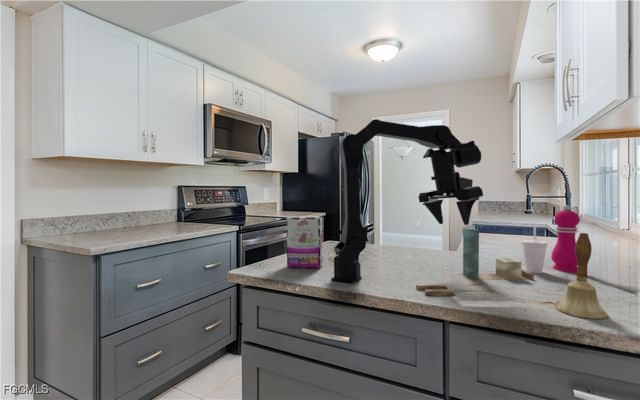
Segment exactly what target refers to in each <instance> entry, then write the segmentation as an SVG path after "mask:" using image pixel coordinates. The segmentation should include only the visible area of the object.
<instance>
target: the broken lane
mask: <svg viewBox="0 0 640 400" xmlns="http://www.w3.org/2000/svg"><path fill="white" fill-rule="evenodd" d="M462 286H464V287H471V286H487V284H486V283H484V282H483V283H482V282H481V283H469V284H468V283H467V284H465V283H463V284H462ZM448 287H450V284H449V283H448V284H447V283H446V284H441V283H440V284H437V283H433V284H432V283H431V284H430V283H427V284H426V283H424V284H422V283H421V284H419V283H418V284H415V289H416V290H417V291H418V290H420V291H422V290H423V291H424V295H425V296H454V297H455V296H456V294H455V293H454V292H458V293H459V292H465V293H466V292H468V293H469V292H473V293H474V292H477V293H478V292H479V293H481V292H482V293H483V292H485V293H486V292H488V293H489V292H490V293H493V292H494V293H495V292H496V290H494V289H449V288H448Z"/></svg>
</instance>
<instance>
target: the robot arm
mask: <svg viewBox="0 0 640 400" xmlns="http://www.w3.org/2000/svg"><path fill="white" fill-rule="evenodd" d="M374 137H383V138H391V139H397V140H401V141H402V140H403V141H411V142H414V143H417V144H418V145H421V146H423V147H426V148H428V149H427V150H426V152H425V154H424V155H423V156H422V159H427V158H430V161H431V167H432V172H433V175H432V176H430V179H431V181H434V184H435V188H436V190H435V189H433V190H428V191H422V192H420V193H419V195H418V196H417V197H418V201H419V203H422V206H425V207H426V209H427V210H428V211H429V212H430V213H431V214H432V216H433V217H434V219H435V220H436V221H437V223H438V224H439V225H443V224H444V217H443V211H442V210H443V209H442V204H443V201H444V199H452V198H454V199H456V200H458V201H456V205H457V209H458V212H459V214H460V217H461V220H462V223H463V225H464V226H468V225H469V223H470V218H471V213H472V209H473V206H474V204H475V202H476V201H479V200H480V198H481V197H483V196H484V191H483V189H482V187H480V186H478V185H477V186H476V185H475V186H473V181H474V180H473V179H472V178H471V179H470V178H466V177H461V175H460V173H459V171H456V170H455V167H456V168H464V167H469V166H474V165H478V164H480V163H481V160H482V151H481V150H480V148H479V147H478V145H476V143H475V141H474V140H470V141H467V142H464V143H462V141H460V140H459V139H458V138H457V137H456V136H455V135H454V134H453V133H452V131H451V129H450V127H449V126H448V125H443V124H441V125H440V124H438V125H437V124H435V125H425V126H424V125H422V126H417V125H413V124H412V125H409V124H405V123H397V122H391V121H386V120H385V121H384V120H380V119H378V118H376V119H375V118H374V119H373V120H371V121H370V122H368V124H367V125H365V127H363V128H362V129H361V130H359V131H358V132H357V133H356V134H354V133H351V134H348V135H346V136H345V137H344V138H342V140H341V141H340V142H339V144H338V152H339V156H340V157H339V158H340V161H341V164H342V167H343V176H344V178H343V180H344V181H343V182H344V209H345V210H344V211H345V212H344V213H345V214H344V215H345V216H344V217H345V219H344V223H343V227H342V233H341V238H340V239H341V240H340V241H339V242H338V243H337V244H336V245H335V246H334V247H333V250H334V254H335V255H336V256H334V257H333V276H332V277H331V278H330V279H331V281H333V282H334V281H335V282H341V283H349V284H353V283H355V282H357V281H359V280H361V279H362V278H363V277H362V276H361V263H360V254H361V252H363V251H364V250H365V249H366V247H367V243H369V239H368V233H369V232H368V231H369V230H368V229H369V227H368V226H367V225H364V224H363V223H362V220H361V195H360V194H361V193H360V192H361V191H360V167H361V162H362V159H363V152H364V146H365V145H366V144H367V143H368V142H369V141H371V140H372V139H373V138H374ZM435 149H436V150H435ZM447 150H448V151H447Z"/></svg>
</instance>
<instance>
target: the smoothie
mask: <svg viewBox="0 0 640 400" xmlns="http://www.w3.org/2000/svg"><path fill="white" fill-rule="evenodd" d="M521 245H522V251H523V259H524V266H525V271H527V272H529V273H532V274H542V273H543V267H544V263H545V258H546V250H547V247H548V242H547V241H544V240H537V227H536V226H533V239H525V240H521Z"/></svg>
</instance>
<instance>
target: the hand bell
mask: <svg viewBox="0 0 640 400" xmlns="http://www.w3.org/2000/svg"><path fill="white" fill-rule="evenodd" d="M575 242H576V246H575V254H576V258H577V262H578V265H577V267H578V269H577V274H576V278H575V281H572V282H569V283H567V289H566V292H565V295H564V297H563V299H562V300H561V301H560V302H558V303H557V304H556V305H555V307H556V310H558V311H559V312H561V313H564V314H566V315H570V316H573V317H578V318H583V319H589V320H604V319H607V318H608V317H609V314H608V313H607V311H606V310H604V309H603V307H602V306H601V304H600V302H599V299H598V295H597V289H596V287H595V286H594V285H593V284H591V283H590V282H588V277H589V276H588V265H589V263H590V262H589V261H590V259H591V256H592V250H593V249H592V243H591V241H590V237H589V233H586V232H579V236H578V238H577V240H576V241H575Z"/></svg>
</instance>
